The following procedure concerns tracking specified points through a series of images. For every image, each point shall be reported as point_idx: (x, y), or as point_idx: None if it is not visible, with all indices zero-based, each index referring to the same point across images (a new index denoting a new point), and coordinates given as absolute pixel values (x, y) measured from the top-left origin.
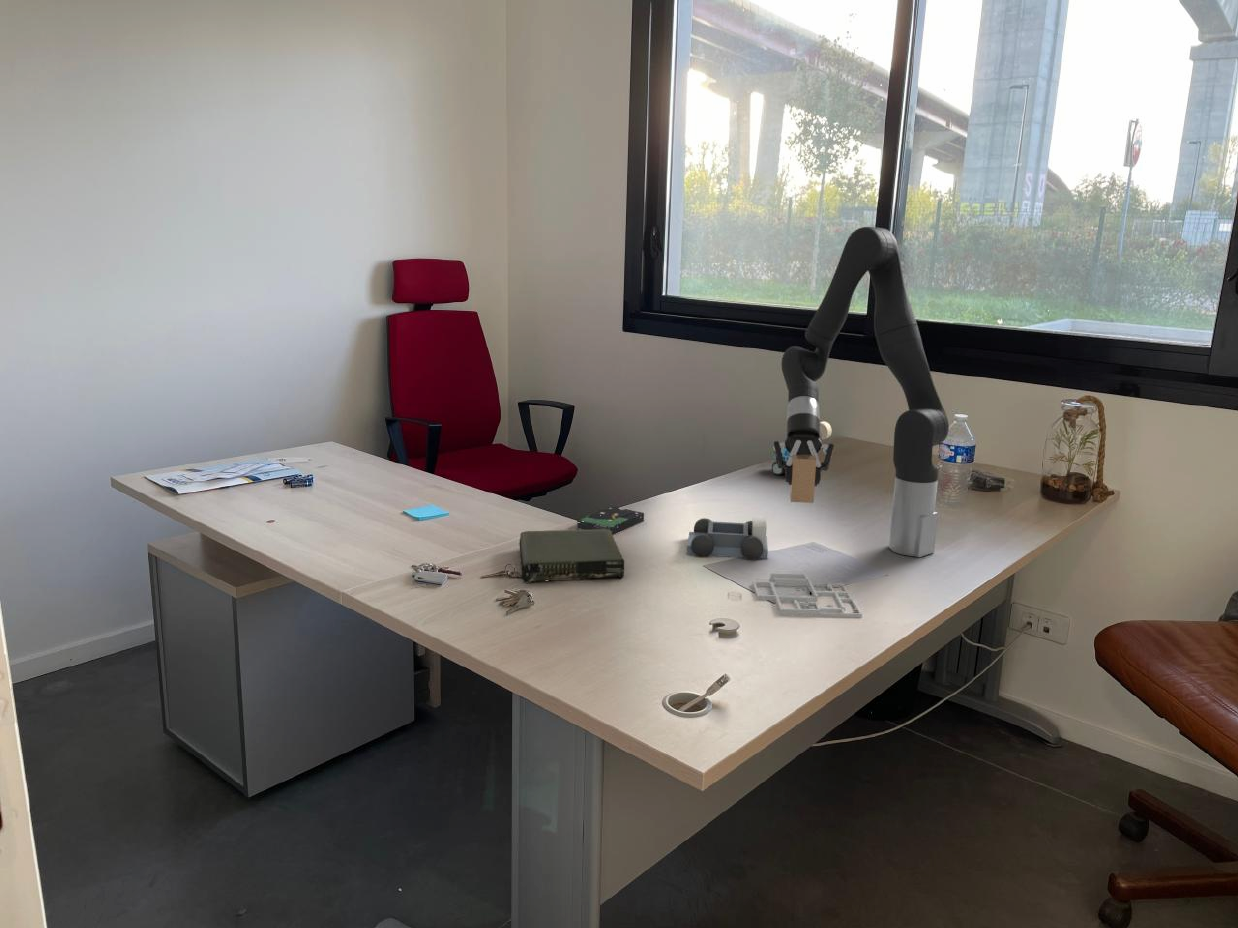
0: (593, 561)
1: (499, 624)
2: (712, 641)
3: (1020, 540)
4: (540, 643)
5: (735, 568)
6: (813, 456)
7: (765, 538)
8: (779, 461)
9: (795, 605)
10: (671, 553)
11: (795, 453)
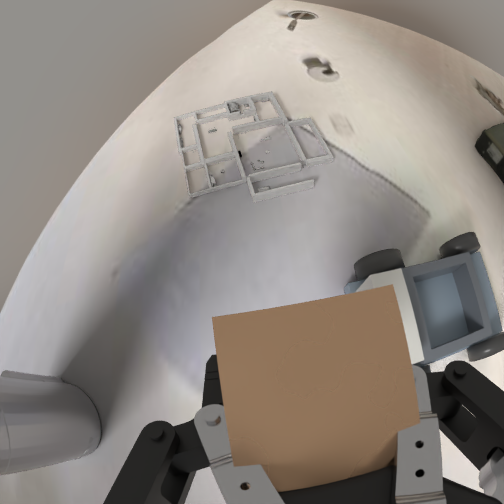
0: (498, 124)
1: (466, 69)
2: (320, 53)
3: None
4: (425, 49)
5: (382, 217)
6: (243, 426)
7: (362, 284)
8: (464, 364)
9: (256, 112)
10: (487, 252)
11: (403, 439)
